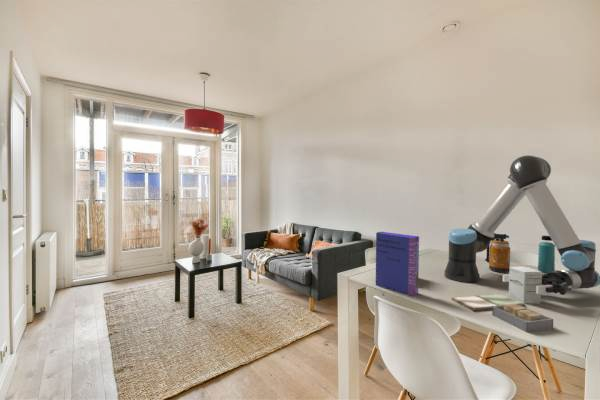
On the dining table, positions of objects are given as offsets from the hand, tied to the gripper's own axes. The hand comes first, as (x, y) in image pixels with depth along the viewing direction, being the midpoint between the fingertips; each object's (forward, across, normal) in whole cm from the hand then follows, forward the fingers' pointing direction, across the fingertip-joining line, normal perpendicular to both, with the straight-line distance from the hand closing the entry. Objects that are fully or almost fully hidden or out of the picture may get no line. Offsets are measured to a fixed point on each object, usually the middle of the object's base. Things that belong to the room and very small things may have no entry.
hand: (519, 283), depth 111 cm
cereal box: (+39, +22, -7) cm, 46 cm away
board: (+14, 0, -7) cm, 16 cm away
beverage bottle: (-46, +25, -7) cm, 53 cm away
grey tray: (+16, -15, -7) cm, 23 cm away
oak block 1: (+16, -12, -6) cm, 21 cm away
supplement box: (-3, 0, -7) cm, 8 cm away
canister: (-29, +37, -7) cm, 48 cm away
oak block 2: (+16, -17, -6) cm, 25 cm away
